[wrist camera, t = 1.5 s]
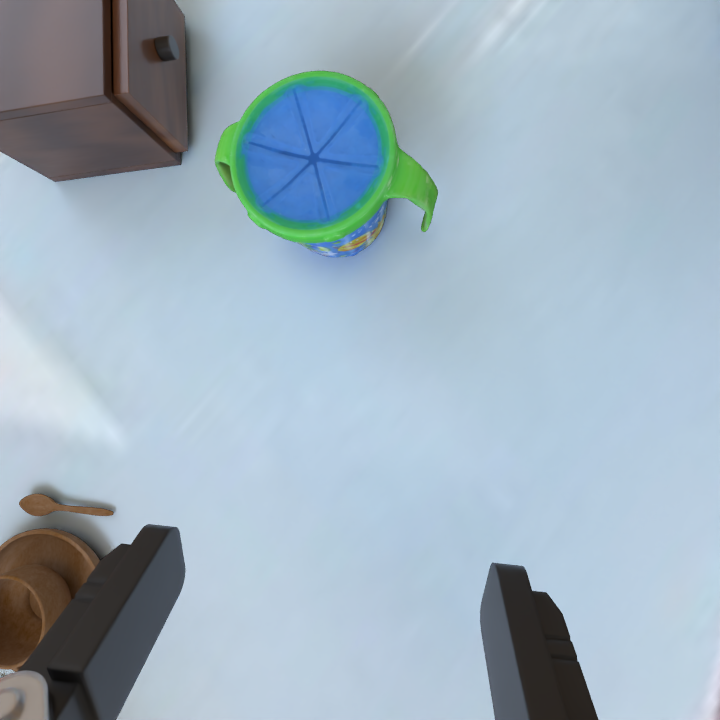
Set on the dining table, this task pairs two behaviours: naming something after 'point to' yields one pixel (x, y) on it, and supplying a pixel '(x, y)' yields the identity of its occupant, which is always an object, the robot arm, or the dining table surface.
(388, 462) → the dining table surface
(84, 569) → the place setting
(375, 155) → the snack cup
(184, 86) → the drawer
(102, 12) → the cabinet
